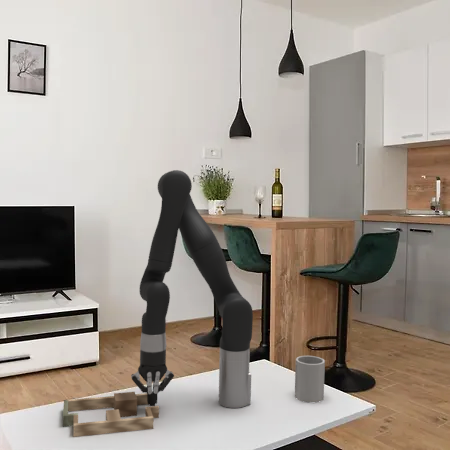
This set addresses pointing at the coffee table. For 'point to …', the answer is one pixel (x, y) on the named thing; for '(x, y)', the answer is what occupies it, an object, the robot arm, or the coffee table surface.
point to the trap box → (107, 416)
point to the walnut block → (126, 404)
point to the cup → (309, 378)
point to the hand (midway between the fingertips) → (152, 405)
